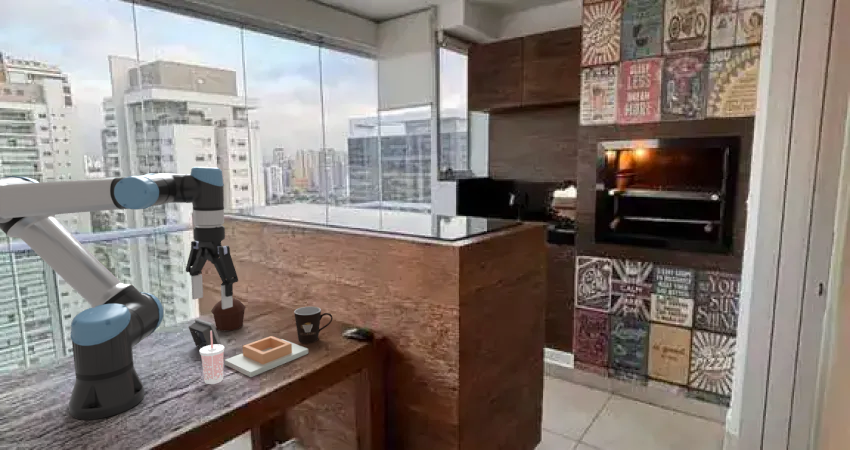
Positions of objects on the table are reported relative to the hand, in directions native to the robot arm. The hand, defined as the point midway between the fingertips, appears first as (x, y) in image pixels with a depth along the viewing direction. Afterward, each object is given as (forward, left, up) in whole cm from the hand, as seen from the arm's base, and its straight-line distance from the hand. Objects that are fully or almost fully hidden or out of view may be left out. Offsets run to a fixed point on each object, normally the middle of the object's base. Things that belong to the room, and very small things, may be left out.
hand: (212, 303), depth 126 cm
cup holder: (+15, -2, -21) cm, 26 cm away
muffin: (+23, +32, -21) cm, 45 cm away
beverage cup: (-2, -2, -21) cm, 21 cm away
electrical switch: (+8, +20, -21) cm, 30 cm away
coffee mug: (+33, -1, -21) cm, 39 cm away
